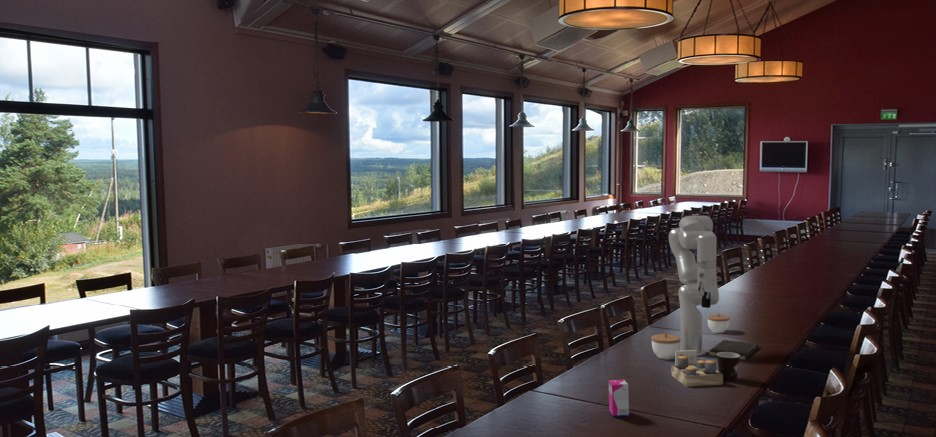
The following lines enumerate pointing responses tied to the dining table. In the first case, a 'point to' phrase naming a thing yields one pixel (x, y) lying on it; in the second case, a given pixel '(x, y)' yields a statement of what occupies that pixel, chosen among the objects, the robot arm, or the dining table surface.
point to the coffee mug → (728, 365)
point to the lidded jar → (718, 323)
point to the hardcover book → (735, 348)
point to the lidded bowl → (665, 345)
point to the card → (690, 354)
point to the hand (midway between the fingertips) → (706, 307)
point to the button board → (696, 377)
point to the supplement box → (618, 398)
